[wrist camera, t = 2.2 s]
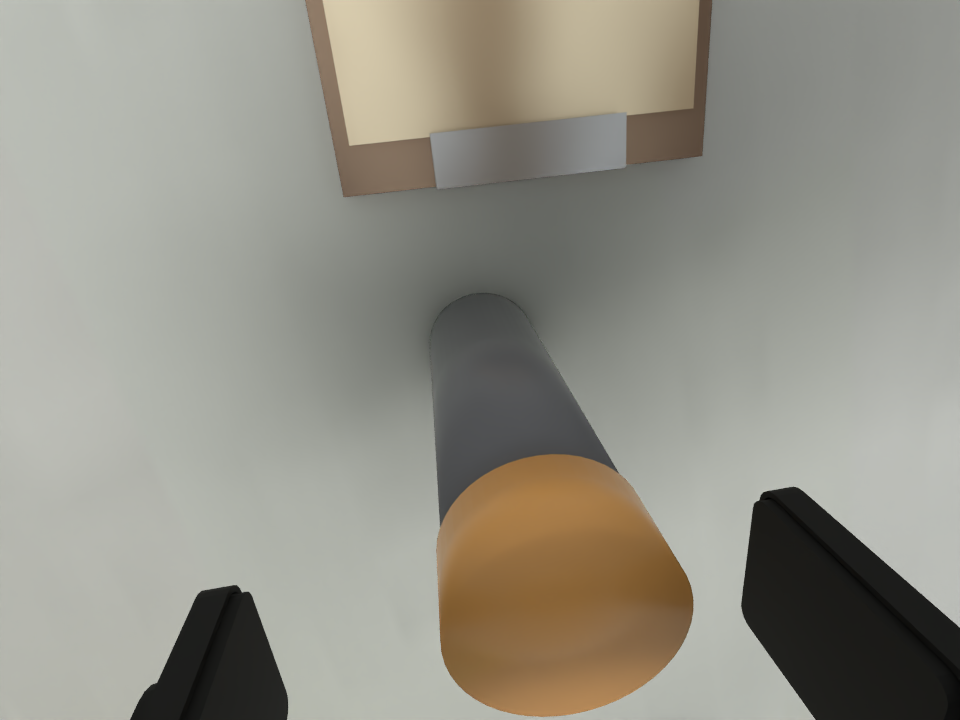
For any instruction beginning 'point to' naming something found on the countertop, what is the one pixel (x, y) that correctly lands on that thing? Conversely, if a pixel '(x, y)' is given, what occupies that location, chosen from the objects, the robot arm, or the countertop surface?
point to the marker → (539, 531)
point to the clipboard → (508, 87)
